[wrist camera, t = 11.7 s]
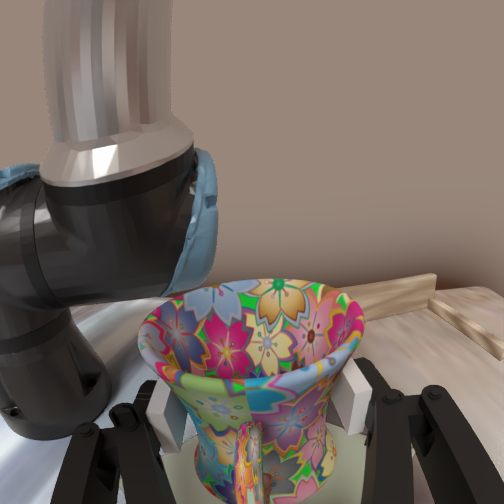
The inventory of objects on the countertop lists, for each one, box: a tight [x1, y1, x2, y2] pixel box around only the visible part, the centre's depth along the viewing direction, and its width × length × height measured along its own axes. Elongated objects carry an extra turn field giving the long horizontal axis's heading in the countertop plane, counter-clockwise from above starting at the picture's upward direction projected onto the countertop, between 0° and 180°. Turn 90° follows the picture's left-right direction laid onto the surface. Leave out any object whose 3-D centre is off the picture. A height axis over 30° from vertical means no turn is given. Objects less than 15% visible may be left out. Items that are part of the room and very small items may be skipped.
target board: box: [119, 422, 415, 504], centre depth 13 cm, size 15×15×1 cm
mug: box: [137, 279, 365, 504], centre depth 11 cm, size 12×9×11 cm
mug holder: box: [337, 273, 504, 361], centre depth 28 cm, size 18×19×5 cm
